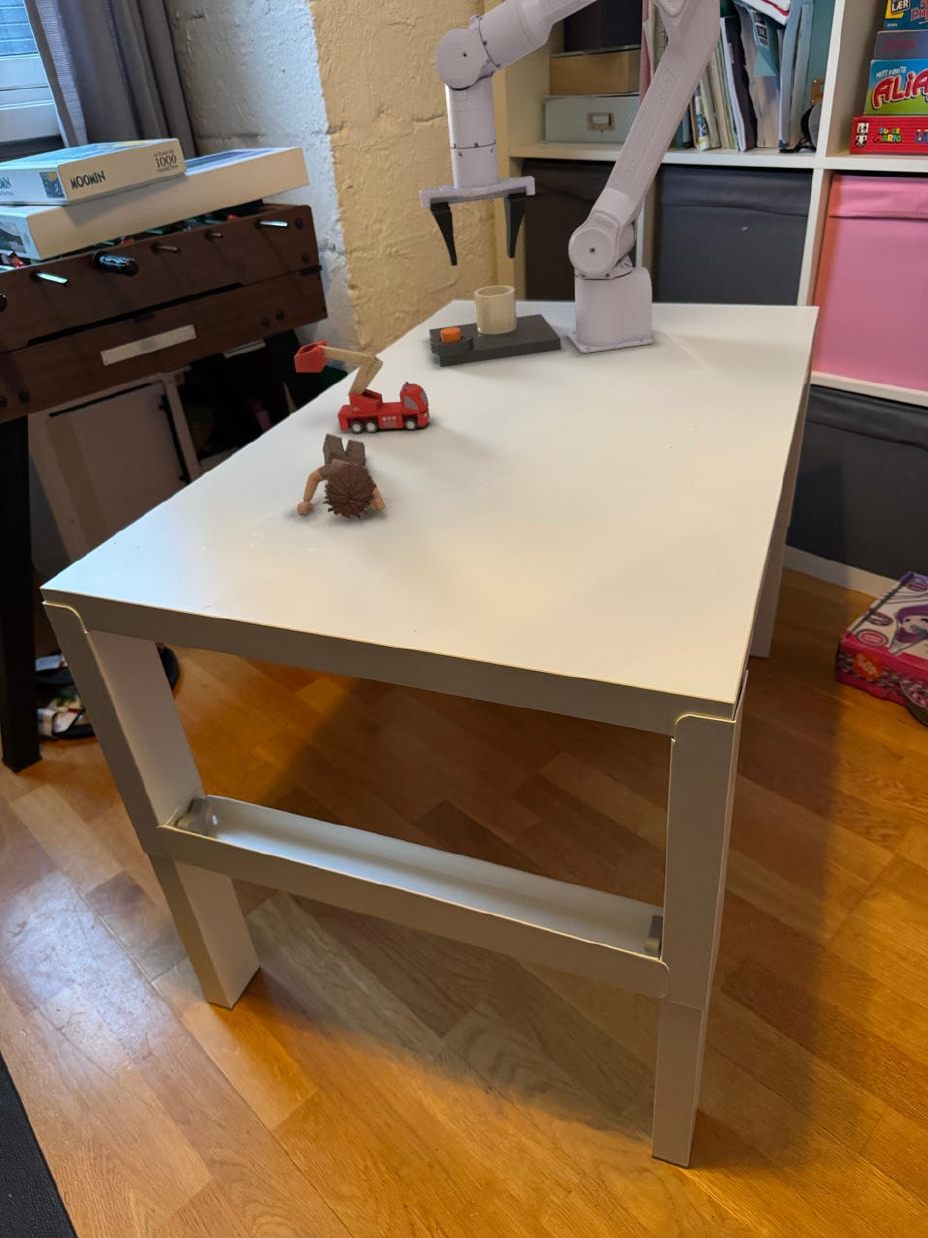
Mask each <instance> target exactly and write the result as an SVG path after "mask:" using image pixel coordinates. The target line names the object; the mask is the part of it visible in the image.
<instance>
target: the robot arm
mask: <svg viewBox="0 0 928 1238" xmlns="http://www.w3.org/2000/svg"><path fill="white" fill-rule="evenodd" d="M596 1H597V0H504V1H502V2H501V3H500V4H498V5H496V6H494V7H493V8H492V9H490V10H488V11H487V12H485V13H484V14H483V15H480V14H479V13H477V14H474V15H472V16H471V17H469V18H468V22H469V25H468V28H451V29H449V30H448V31H447V33H446V34H445V35H443V37H441V39H440V40H439V42H438V43H437V45H436V48H435V52H434V66H435V71H436V72H437V75H438V77H439V78H440V80H441V81H442V82H443V83H444V89H445V101H446V114H447V124H448V125H447V126H448V134H449V135H448V136H449V146H450V156H451V167H452V176H453V177H452V179H453V184H448V185H442V186H437V187H432V188H424V189H419V200H420V207H421V209H422V210H424V209H429V211H430V213H431V214H432V216H433V218H434V220H435V222H436V224H437V226H438V228H439V231H440V234H441V235H442V238H443V240H444V243H445V246H446V249H447V252H448V257H449V263H450V265H451V266H452V267H456V266H458V256H457V249H456V245H455V238H454V235H455V234H454V222H453V219H454V218H453V212H452V211H451V206H450V205H454V204H462V203H471V202H479V201H487V200H495V199H503V200H502V201H503V208H504V217H505V227H506V228H505V229H506V231H505V232H506V241H505V242H506V254H507V257H508V258H509V259H515V258H516V249H517V241H518V236H519V233H520V228H521V226H522V222H523V219H524V216H525V213H526V212H527V209H528V206H529V198H528V197H527V196H534V195H536V187H535V185H536V184H535V177H533V176H532V175H528V176H520V177H519V176H518V177H504V178H500V177H499V176H500V175H499V161H498V146H497V145H498V144H497V131H496V130H497V129H496V115H495V113H496V112H495V101H494V90H493V78H494V76H495V74H496V72H499V71H501V70H503V69H505V68H506V67H508V66H510V65H512V64H514V63H515V62H517V61H518V60H520V59H522V58H524V57H525V56H527V55H529V54H531V53H532V52H534V51H535V50H538V49H539V48H541V47H543V46H545V45H546V43H547V42H548V41H549V40H548V39H549V36H550V33H551V30H552V28H553V25H555V24H556V23H558V22H560V21H562V20H563V19H565V18H567V17H569V16H571V15H572V14H575V13H576V12H578V11H580V10H582V9H584V8H585V7H587V6H589V5H591V4H593V3H594V2H596ZM651 1H652V2H653V4H654V5H655V6H656V8H657V9H658V12H659V15H660V18H661V21H662V24H663V27H664V31H665V33H666V36H667V40H668V41H667V45H666V47H665V49H664V52H663V54H662V56H661V59H660V61H659V64H658V65H657V68H656V70H655V73H654V75H653V77H652V79H651V82H650V84H649V86H648V88H647V91H646V93H645V95H644V97H643V100H642V102H641V104H640V107H639V109H638V111H637V114H636V116H635V118H634V120H633V122H632V125H631V127H630V130H629V131H628V134H627V136H626V138H625V141H624V143H623V145H622V148H621V150H620V153H619V155H618V157H617V159H616V162H615V164H614V166H613V168H612V170H611V173H610V175H609V177H608V179H607V182H606V183H605V186H604V188H603V190H602V192H601V193H600V195H599V196H598V198H597V200H596V201H595V203H594V204H593V206H592V208H591V210H590V213H589V215H588V216H587V218H586V220H585V221H584V222H583V223H582V224H581V225H580V226H579V227H577V228H576V229H575V230H574V232H573V233H572V234H571V236H570V239H569V242H568V257H569V260H570V263H571V265H572V266H573V268H574V294H575V295H574V302H575V303H574V308H575V331H572V332H568V333H567V338H568V339H569V340H570V341H571V343H572V345H574V346H575V347H576V349H577V350H578V351H579V352H580V353H581V354H589V353H596V352H603V351H610V350H617V349H624V348H632V347H638V346H639V347H640V346H645V345H652V344H653V343H654V340H653V339H652V322H653V321H652V318H653V317H652V316H653V315H652V313H653V287H652V280H651V275H650V273H649V270H648V269H647V268H646V267H645V266H636V267H634V266H633V262H632V261H631V258H630V256H629V255H628V254H629V253H630V252H631V250H632V249H633V247H634V245H635V244H636V243H635V242H636V240H637V224H638V220H639V217H640V215H641V213H642V211H643V206H644V200H645V197H646V195H647V194H648V191H649V189H650V188H651V185H652V183H653V181H654V179H655V176H656V175H657V172H658V170H659V168H660V166H661V163H662V162H663V159H664V157H665V155H666V153H667V151H668V149H669V147H670V145H671V142H672V141H673V138H674V136H675V135H676V132H677V129H678V127H679V126H680V123H681V121H682V119H683V117H684V115H685V113H686V111H687V108H688V106H689V105H690V102H691V100H692V98H693V96H694V94H695V91H696V89H697V88H698V86H699V83H700V81H701V79H702V76H703V75H704V72H705V70H706V68H707V66H708V65H709V62H710V60H711V58H712V56H713V53H714V51H715V49H716V47H717V45H718V43H719V39H720V35H721V10H720V9H721V4H720V2H721V1H720V0H651Z"/></svg>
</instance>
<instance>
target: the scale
mask: <svg viewBox="0 0 928 1238" xmlns="http://www.w3.org/2000/svg"><path fill="white" fill-rule="evenodd" d="M450 327H456V328H460V330H461V340H458V341H454V342H442V341H441V330H443V329H445V328H450ZM428 333H429V344H430V345H429V346H430V351H431V353H432V354H434V355H435V357H436V359H437V362H438V364H439V367H440V368H443V367H449V366H456V365H464V364H471V363H478V362H484V361H485V362H486V361H492V360H499V359H507V358H512V357H513V358H514V357H522V356H527V355H533V354H542V353H548V352H554V351H555V352H556V351H562V344H561V343H562V342H561V341H562V340H561V337H560V336H559V334H558V333H557V332H556V331H555V330H554V328H553V327H552V326H551V324H549V322H548V321H547V319H545V317H544V316H543V315H542V314H541V313H538V314H530V315H523V316H517V327H516V329H515V330H513V331H511V332H508V333H503V334H495V335H489V334H482V333H480V332H478V330H477V324H476V322H473V323H466V324H458V325H452V326H444V327H437V328H430V329H428Z"/></svg>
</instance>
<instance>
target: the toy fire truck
mask: <svg viewBox="0 0 928 1238" xmlns="http://www.w3.org/2000/svg"><path fill="white" fill-rule="evenodd" d="M328 360H335V361H339V362H345V363H350V364H355V365H360V366H359V368H358V371H357V373H356V375H355V377H354V380H353V382H352V384H351V386H350V388H349V390H348V393H347V396H348V399H349V404H343V405H342V406H341V407H340V409H339V411H338V413H337V418H338V425H339V429H340V431H343V432H346V431H349V430H351V431H352V432H353V433H354V434H361V433H362V432H363V430H364V429H365V430H366V431H367V432H368V433H375V432H377V430H378V428H379V429H381V430H384V429H385V430H387V429H388V430H389V429H403V428H406V430H408V431H411V432H412V431H415V430H417V428H418V427H419V428H424V427H425V426H427V424H429V422H430V419H431V417H430V409H429V407H430V405H429V400H428V396H427V393H426V391H425V389H424V388H423V387H422V386H421V385H420V384H417V383H412V382H411V383H409V381H405V383H403V384H402V386H401V388H400V391H399V401H387V402H384V399H383V394H382V393H380V392H377V391H374V390H372V389H368V387H369V385H370V384H371V382H372V381H373V380H374V379H375V377H376V376H377V374H378V373H379V372H380V370H381V369H382V367H383V365H384V361H383V360H381V358H379V357H378V356H376V354H373V353H372V352H368V353H364V352H360V351H354V350H348V349H342V348H337V347H332V346H328V344H327V342H326V340H319V341H316V342H313V343H309V344H307V345H304V346H301V347H300V348H299V350H298V351H297V353H296V354H295V355H294V356H293V361H294V366H295V372H296V373H322V371H323V370H324V368H325V366H326V365H327V364H328Z"/></svg>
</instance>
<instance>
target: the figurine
mask: <svg viewBox="0 0 928 1238" xmlns="http://www.w3.org/2000/svg"><path fill="white" fill-rule="evenodd" d="M321 450H322V453H323V460H324V465H322V466H320V467H318V468H317V469H315V470H314V471H312V472H311V473H309V474H308V477H307V481H306V485H305V488H304V493H303V496H302V500H303V501H301V502H299V503H298V504H297V505H296V510H297V513H298V514H299V515H308V512H309V513H313V512H314V510H315V505H314V504H313V503H311V501H313V498H314V496H315V493H316V491H317V489H318V486H319V483H321V482H324V483H325V485H324V488H325V489H324V490H323V491H324V493H325V495H326V496H324V499H326V500H325V501H323V502H322V505H325V504H326V505H328V506H330V507H328V508H327V512H328V513H331V512H333V514H334V515H335V516H337V515H340V514H341V516H342V517H343V518H347V519H352V516H354V517H355V518H356V519H358V520H360V519H361V513H364V514H366V515H368V512H367V510H366V509H369V507H370V509H371V510H373V511H374V510H383V509H384V508H386V507H385V506H386V504H385V502H384V500H383V498H382V494H381V492H380V490H379V489H378V485H377V484H376V483H375V481H374V480H373V476H372V475H370V472H369V469H368V468H367V467H366V463H367V458H366V446H365V443H364V442H363V441H360V440H355V439H351V438H348V440H347V443H346V447H345V448H344V444H343V437H342V436H338V435H336V434H331V433H328V432H327V433H326V434H325V437H324V440H323V445H322V449H321Z"/></svg>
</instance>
